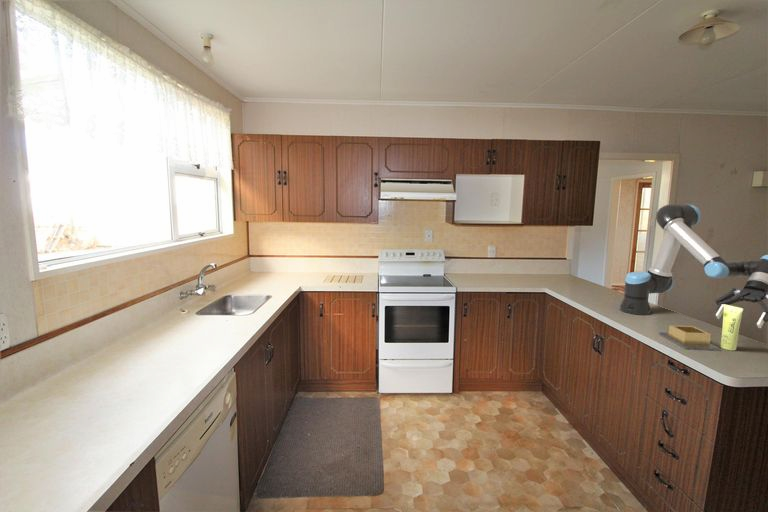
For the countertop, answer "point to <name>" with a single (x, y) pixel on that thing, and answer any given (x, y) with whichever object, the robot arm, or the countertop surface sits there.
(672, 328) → the collar plate
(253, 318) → the countertop surface
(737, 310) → the tube
